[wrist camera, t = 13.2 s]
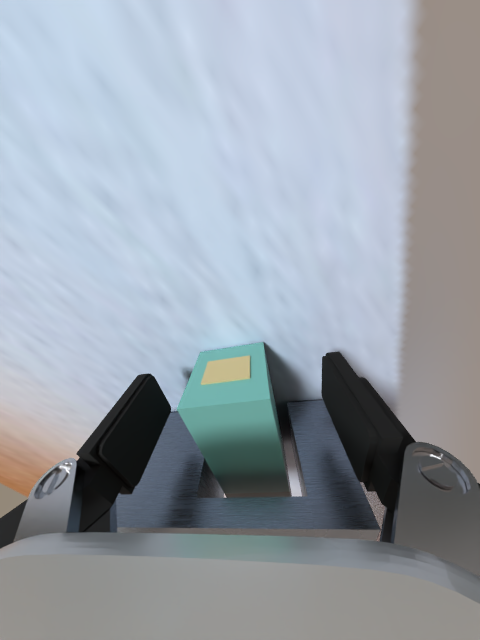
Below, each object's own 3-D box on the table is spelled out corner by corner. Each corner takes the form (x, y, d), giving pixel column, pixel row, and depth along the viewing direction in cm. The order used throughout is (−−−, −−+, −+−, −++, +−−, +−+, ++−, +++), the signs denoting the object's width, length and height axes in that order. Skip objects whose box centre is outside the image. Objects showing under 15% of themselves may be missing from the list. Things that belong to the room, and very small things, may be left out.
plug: (283, 446, 15) (294, 512, 12) (239, 449, 16) (235, 513, 12) (262, 340, 10) (269, 397, 7) (199, 350, 11) (175, 407, 7)
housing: (322, 441, 14) (365, 564, 9) (137, 451, 17) (83, 555, 11) (323, 399, 12) (380, 529, 7) (110, 417, 14) (27, 526, 9)
